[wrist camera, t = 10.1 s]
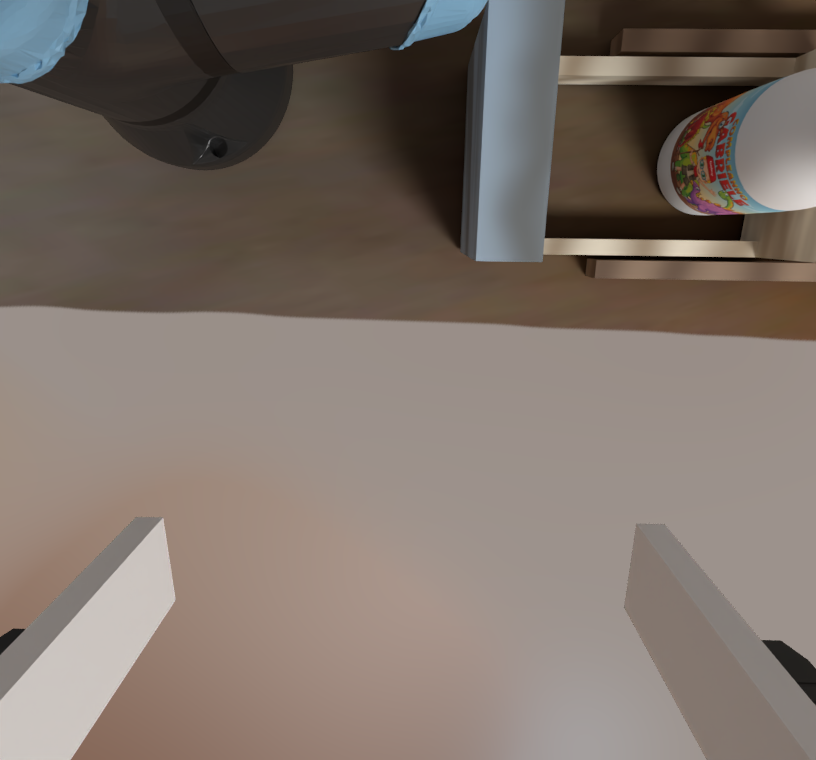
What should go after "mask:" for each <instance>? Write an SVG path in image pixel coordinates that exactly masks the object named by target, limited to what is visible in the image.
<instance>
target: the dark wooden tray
mask: <svg viewBox="0 0 816 760" xmlns="http://www.w3.org/2000/svg"><path fill="white" fill-rule="evenodd" d="M815 49H816V30H768V29H635V28H624V29H623V30H622V31H621V32H619V33H618V34H617V35H616V36H615V37H614V38H613V39H612V40H611V48H610V56H634V57H754V58H797V57H799V56H801V55H804V54H806V53H808V52H810V51H813V50H815ZM585 276H589V277H592V278H613V279H679V280H746V281H812V282H816V263H812V262H801V261H733V260H664V259H595V258H587V264H586V273H585Z"/></svg>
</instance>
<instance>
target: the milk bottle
mask: <svg viewBox="0 0 816 760" xmlns="http://www.w3.org/2000/svg"><path fill="white" fill-rule="evenodd" d="M657 178H658V183H659V187H660V189H661V192H662V194H663V195H664V197H665V198H666V200H667V201H668V202H669V203H670V204H671V205H672V206H673V207H675V208H676V209H678V210H679V211H682V212H684V213H687V214H692V215H728V214H751V213H768V212H783V211H792V210H801V209H807V208H812V207H816V68H812V69H808V70H804V71H801V72H798V73H795V74H792V75H790V76H787V77H784V78H781V79H778V80H775V81H773V82H770V83H768V84H765V85H763V86H760V87H758V88H755V89H752V90H750V91H747V92H745V93H742V94H740V95H738V96H735V97H733V98H730V99H728V100H725V101H723V102H721V103H718V104H716V105H713V106H711V107H709V108H706V109H704V110H702V111H699V112H697V113H695V114H693V115H691V116H689V117H688V118H686V119H685V120H683V121H682V122H681V123H680V124H678V125H677V126H676V127H675V128H674V129H673V131H672V132H671V133H670V134H669V136H668V137H667V139H666V141H665V142H664V144H663V146H662V149H661V151H660V155H659V158H658V163H657Z"/></svg>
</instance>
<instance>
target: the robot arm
mask: <svg viewBox="0 0 816 760" xmlns="http://www.w3.org/2000/svg"><path fill="white" fill-rule="evenodd" d="M487 1H488V0H0V83H9V84H12V85H15V86H18V87H21V88H24V89H27V90H30V91H33V92H36V93H39V94H41V95H44V96H47V97H50V98H53V99H56V100H59V101H62V102H65V103H68V104H71V105H74V106H77V107H80V108H83V109H85V110H88V111H91V112H94V113H97V114H100V115H102V116H103V117H104V118H105V119H106V120H107V121H108V122H109V124H110V125H111V126H112V127H113V128H114V129H115V130H116V131H117V132H118V133H119V134H120V135H121V136H122V137H123V138H124V139H125V140H127V141H128V142H129V143H130V144H132V145H133V146H134V147H136V148H137V149H139V150H141V151H142V152H144V153H145V154H147V155H149V156H151V157H153V158H155V159H157V160H160V161H163V162H165V163H168V164H172V165H176V166H180V167H183V168H188V169H195V170H215V169H221V168H226V167H229V166H233V165H235V164H238V163H240V162H242V161H244V160H246V159H247V158H249V157H251V156H252V155H253V154H255V153H256V152H257V151H259V150H260V149H261V148H262V147H263V146H264V145H265V144H266V143H267V142H268V141H269V139H270V138H271V137H272V136H273V134H274V133H275V131H276V130H277V128H278V126H279V125H280V123H281V121H282V119H283V117H284V114H285V112H286V109H287V106H288V103H289V99H290V95H291V89H292V81H293V64H297V63H303V62H308V61H314V60H320V59H325V58H331V57H337V56H342V55H348V54H353V53H359V52H365V51H370V50H376V49H382V48H387V47H389V48H390V49H392V50H402V49H404V48H405V47H407V46H410V45H411V44H412V43H413V42H415V41H419V40H424V39H428V38H432V37H436V36H441V35H445V34H449V33H453V32H456V31H459V30H461V29H462V28H464V27H465V26H466V25H467V24H468V23H470V22H471V21H472V19H474V18H475V17H476V16H478V14H479V13H480V12H481V11H482V9H483V8H484V6H485V4H486V2H487ZM174 601H175V593H174V587H173V580H172V573H171V567H170V560H169V553H168V547H167V540H166V533H165V528H164V520H163V517H136V518H135V519H134V520H133V521H132V522H131V523H130V524H129V525H128V526H127V527H126V528H125V529H124V530H123V531H122V532H121V533H120V534H119V535H118V536H117V537H116V538H115V539H114V540H113V541H112V542H111V543H110V544H109V545H108V546H107V547H106V548H105V549H104V550H103V551H102V552H101V553H100V554H99V555H98V556H97V557H96V558H95V559H94V560H93V561H92V562H91V563H90V564H89V565H88V566H87V567H86V568H85V569H84V570H83V572H81V574H80V575H79V576H78V577H77V578H76V579H75V580H74V581H73V582H72V583H71V584H70V585H69V586H68V587H67V588H66V589H65V590H64V591H63V592H62V593H61V594H60V595H59V596H58V597H57V598H56V599H55V600H54V601H53V602H52V603H51V604H50V605H49V606H48V607H47V608H46V609H45V610H44V611H43V612H42V613H41V614H40V615H39V616H38V617H37V618H36V619H35V620H34V621H33V622H32V623H31V624H30V625H29V626H28V627H27V628H26V629H12V630H11V631H9V632H8V633H6V634H4V635H3V636H1V637H0V760H71V758H72V756H73V755H74V754H75V752H76V751H77V749H78V748H79V746H80V745H81V743H82V742H83V740H84V738H85V737H86V736H87V734H88V732H89V731H90V729H91V728H92V726H93V725H94V723H95V722H96V720H97V719H98V717H99V716H100V714H101V713H102V711H103V710H104V708H105V707H106V705H107V704H108V702H109V701H110V699H111V697H112V696H113V694H114V693H115V691H116V690H117V688H118V687H119V685H120V684H121V682H122V681H123V679H124V677H125V676H126V675H127V673H128V672H129V670H130V669H131V667H132V665H133V664H134V662H135V661H136V659H137V658H138V656H139V655H140V653H141V652H142V650H143V649H144V647H145V646H146V644H147V643H148V641H149V640H150V638H151V637H152V635H153V633H154V632H155V631H156V629H157V627H158V626H159V624H160V623H161V621H162V620H163V618H164V617H165V615H166V614H167V612H168V611H169V609H170V608H171V606H172V605H173V603H174ZM624 608H625V610H626V612H627V614H628V615H629V617H630V619H631V621H632V623H633V625H634V627H635V628H636V630H637V632H638V634H639V636H640V638H641V639H642V641H643V643H644V645H645V647H646V649H647V650H648V652H649V654H650V656H651V658H652V660H653V662H654V663H655V665H656V667H657V669H658V671H659V672H660V674H661V676H662V678H663V680H664V682H665V684H666V686H667V687H668V689H669V691H670V693H671V695H672V696H673V698H674V700H675V702H676V704H677V706H678V708H679V709H680V711H681V713H682V715H683V717H684V718H685V721H686V722H687V724H688V726H689V728H690V730H691V732H692V733H693V735H694V737H695V739H696V741H697V743H698V744H699V746H700V748H701V750H702V752H703V754H704V755H705V757H706V759H707V760H816V669H815V667H814V666H813V665H812V664H811V663H810V662H809V661H808V660H807V659H806V658H804V657H803V656H801V655H800V654H799V653H797V652H796V651H795V650H793V649H792V648H790V647H789V646H787V645H786V644H785V643H783V642H782V641H771V640H761V639H760V638H759V637H758V636H757V635H756V633H755V632H754V631H753V630H752V629H751V627H750V626H749V625H748V624H747V623H746V621H745V620H744V619H743V618H742V617H741V615H740V614H739V613H738V612H737V611H736V610H735V608H734V607H733V606H732V605H731V604H730V602H729V601H728V600H727V599H726V598H725V596H724V595H723V594H722V593H721V591H720V590H719V589H718V588H717V587H716V585H715V584H714V583H713V582H712V581H711V579H710V578H709V577H708V576H707V575H706V573H705V572H704V571H703V570H702V569H701V567H700V566H699V565H698V564H697V563H696V561H695V560H694V559H693V558H692V557H691V556H690V554H689V553H688V552H687V551H686V549H685V548H684V547H683V546H682V545H681V543H680V542H679V541H678V540H677V539H676V538H675V536H674V535H673V534H672V533H671V531H670V530H669V529H668V528H667V527H666V525H665V524H636V530H635V536H634V543H633V550H632V557H631V563H630V571H629V577H628V584H627V591H626V598H625V605H624Z"/></svg>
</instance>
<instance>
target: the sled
mask: <svg viewBox="0 0 816 760" xmlns="http://www.w3.org/2000/svg"><path fill="white" fill-rule="evenodd" d="M564 8H565V0H488V2H487V5H486V8H485V12H484V15H483V18H482V21H481V25H480V28H479V31H478V35H477V38H476V41H475V44H474V48H473V51H472V54H471V58H470V61H469V64H468V80H467V104H466V128H465V152H464V177H463V201H462V225H461V249H460V252H462V253H463V254H465V255H467V256H468V257H470V258H472V259H473V260H475V261H507V262H543V254H553V255H622V256H692V257H757V258H768V259H779V260H790V261H801V262H812V263H816V207H812V208H807V209H801V210H792V211H783V212H768V213H751V214H745V218H744V223H743V228H742V234H741V239H740V241H733V240H661V239H588V238H545V227H546V216H547V204H548V193H549V181H550V170H551V158H552V147H553V135H554V123H555V112H556V100H557V89H558V84H590V85H698V86H763V85H765V84H768V83H770V82H773V81H775V80H778V79H781V78H784V77H787V76H790V75H792V74H795V73H798V72H801V71H804V70H808V69H812V68H816V49H815V50H813V51H810V52H808V53H806V54H804V55H801V56H799V57H797V58H754V57H634V56H560V54H561V43H562V31H563V19H564Z"/></svg>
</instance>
